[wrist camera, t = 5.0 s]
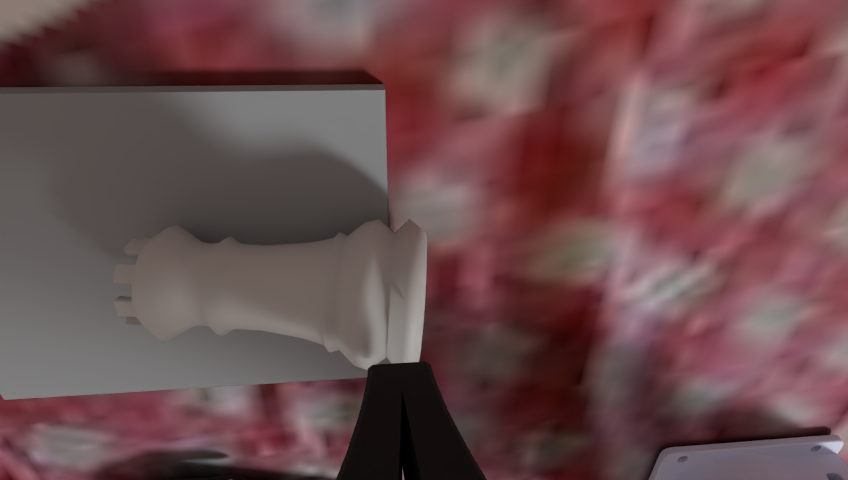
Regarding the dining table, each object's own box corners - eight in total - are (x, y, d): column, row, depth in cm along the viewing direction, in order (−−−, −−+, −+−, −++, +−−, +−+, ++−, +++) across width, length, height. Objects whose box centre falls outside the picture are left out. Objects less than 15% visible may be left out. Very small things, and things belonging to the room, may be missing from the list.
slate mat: (384, 83, 14) (385, 90, 14) (391, 364, 20) (391, 376, 19) (-167, 88, 13) (-189, 95, 12) (13, 386, 19) (3, 399, 18)
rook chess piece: (416, 289, 18) (185, 276, 17) (427, 188, 15) (147, 169, 14) (414, 407, 14) (128, 393, 14) (428, 307, 11) (63, 287, 11)
